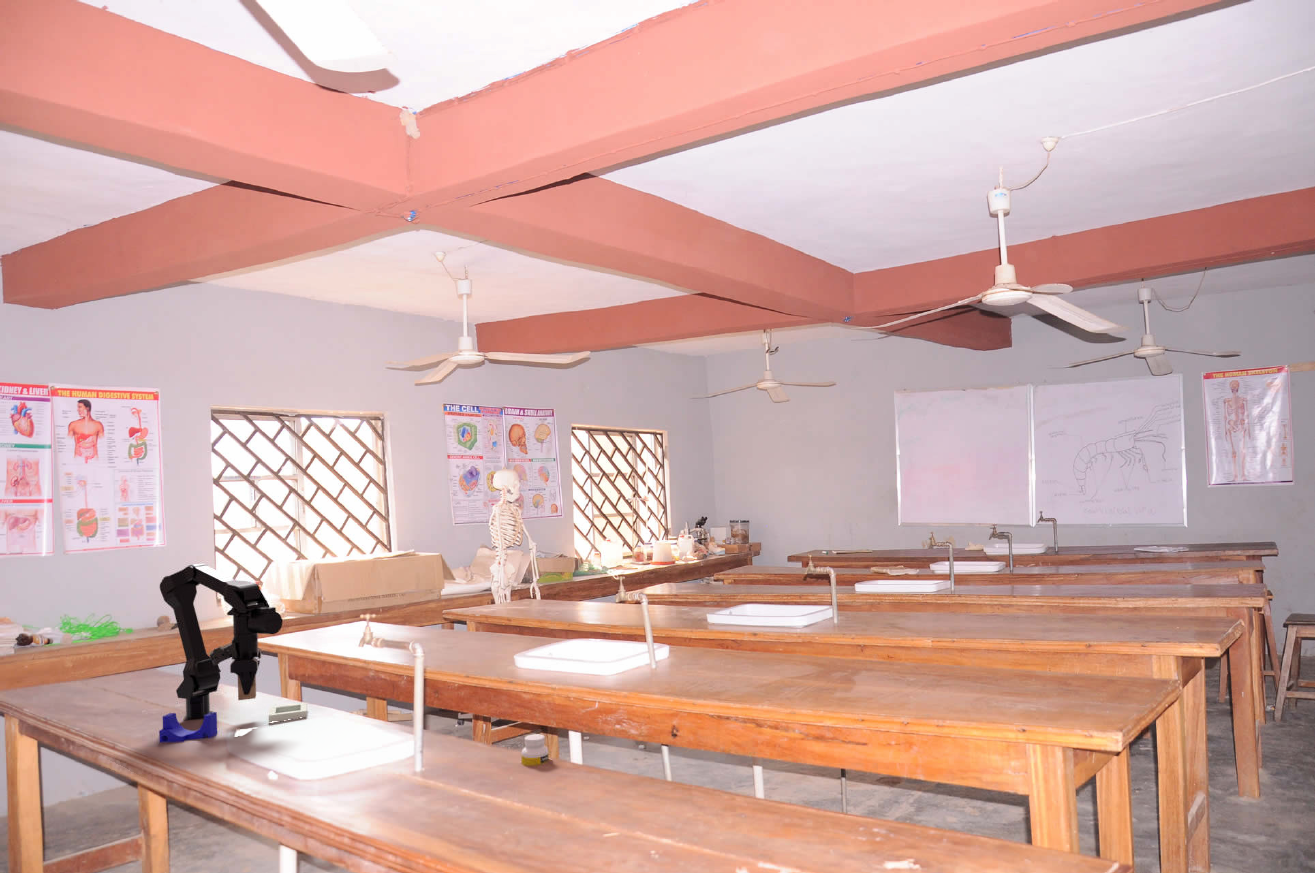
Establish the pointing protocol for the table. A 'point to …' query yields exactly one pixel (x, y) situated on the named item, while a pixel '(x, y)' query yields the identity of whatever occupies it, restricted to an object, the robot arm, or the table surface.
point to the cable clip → (178, 734)
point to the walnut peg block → (251, 694)
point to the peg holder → (287, 712)
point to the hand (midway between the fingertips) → (247, 692)
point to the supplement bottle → (534, 750)
